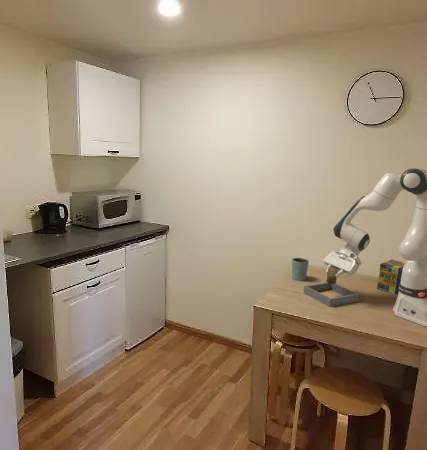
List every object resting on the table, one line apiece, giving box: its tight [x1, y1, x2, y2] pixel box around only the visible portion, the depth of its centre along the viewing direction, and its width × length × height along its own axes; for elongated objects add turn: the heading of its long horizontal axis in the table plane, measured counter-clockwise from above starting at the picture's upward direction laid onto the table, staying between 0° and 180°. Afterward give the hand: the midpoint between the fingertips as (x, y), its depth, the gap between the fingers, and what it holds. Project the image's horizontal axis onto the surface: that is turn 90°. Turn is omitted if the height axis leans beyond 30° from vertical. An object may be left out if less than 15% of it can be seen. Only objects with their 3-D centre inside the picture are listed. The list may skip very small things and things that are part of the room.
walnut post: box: [325, 266, 339, 284], centre depth 196 cm, size 5×5×8 cm
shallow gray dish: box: [303, 282, 360, 307], centre depth 198 cm, size 20×20×4 cm
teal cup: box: [291, 257, 310, 282], centre depth 225 cm, size 10×10×12 cm
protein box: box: [376, 259, 406, 295], centre depth 214 cm, size 10×15×16 cm
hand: (331, 274), depth 196 cm, fingers closed on walnut post, 5 cm apart
